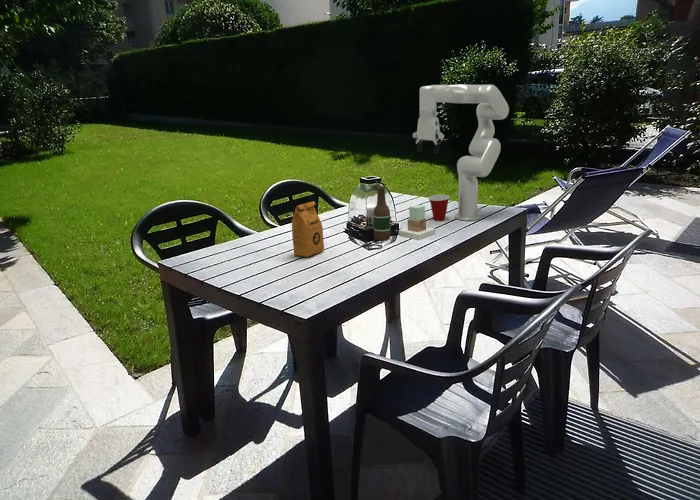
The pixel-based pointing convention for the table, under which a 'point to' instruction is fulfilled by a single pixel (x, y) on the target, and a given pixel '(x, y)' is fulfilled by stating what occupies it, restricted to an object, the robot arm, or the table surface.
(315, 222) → the coffee package
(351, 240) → the table surface
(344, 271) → the table surface
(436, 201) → the plastic cup
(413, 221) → the walnut block
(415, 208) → the sage block
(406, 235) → the base slab
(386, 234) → the beer bottle
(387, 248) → the table surface
